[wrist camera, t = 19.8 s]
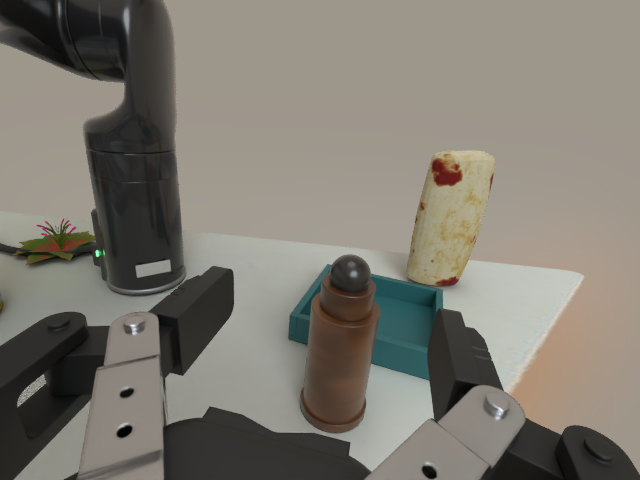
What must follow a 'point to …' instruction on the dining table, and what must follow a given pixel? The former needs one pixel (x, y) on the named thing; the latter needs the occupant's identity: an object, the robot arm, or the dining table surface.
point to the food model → (449, 215)
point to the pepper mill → (340, 347)
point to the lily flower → (55, 244)
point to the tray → (388, 322)
